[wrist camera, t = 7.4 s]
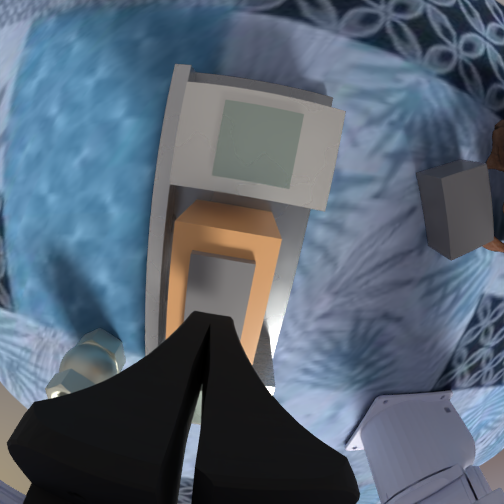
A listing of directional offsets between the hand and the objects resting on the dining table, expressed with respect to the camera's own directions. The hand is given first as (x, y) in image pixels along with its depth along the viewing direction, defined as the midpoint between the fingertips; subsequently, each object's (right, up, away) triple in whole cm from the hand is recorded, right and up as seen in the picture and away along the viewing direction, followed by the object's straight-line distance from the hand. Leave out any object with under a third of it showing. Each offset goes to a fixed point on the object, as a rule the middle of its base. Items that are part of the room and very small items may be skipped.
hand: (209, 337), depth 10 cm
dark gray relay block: (+14, +6, +7) cm, 17 cm away
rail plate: (0, +3, +8) cm, 8 cm away
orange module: (0, +3, +7) cm, 7 cm away
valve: (-10, -8, +12) cm, 17 cm away
